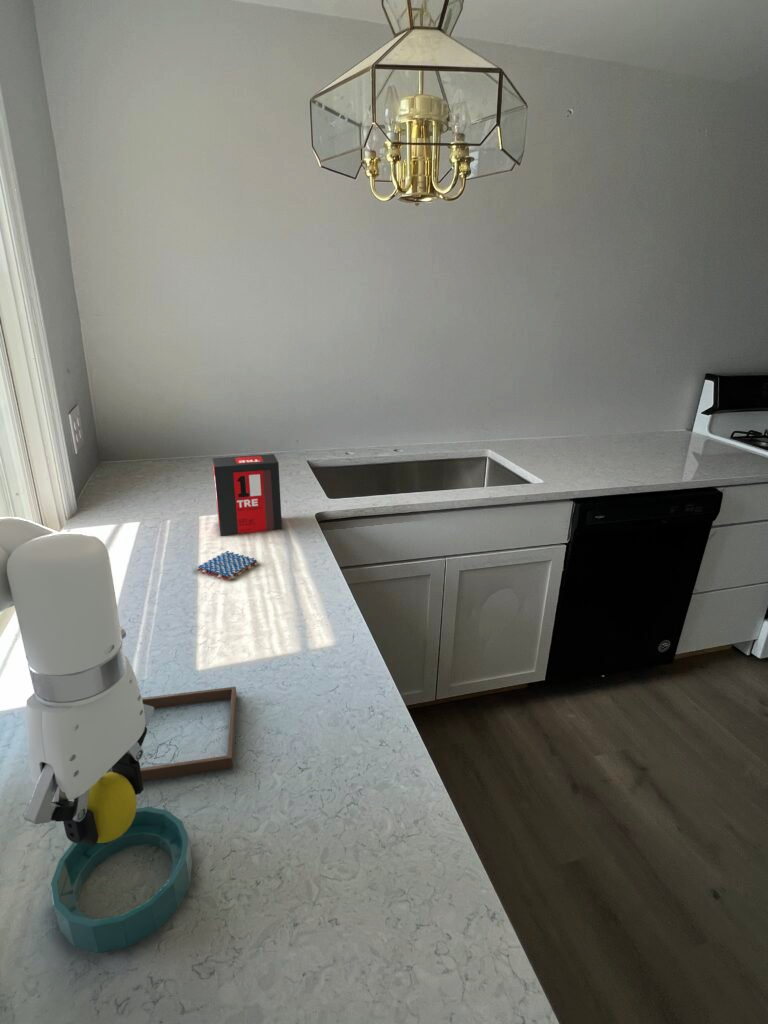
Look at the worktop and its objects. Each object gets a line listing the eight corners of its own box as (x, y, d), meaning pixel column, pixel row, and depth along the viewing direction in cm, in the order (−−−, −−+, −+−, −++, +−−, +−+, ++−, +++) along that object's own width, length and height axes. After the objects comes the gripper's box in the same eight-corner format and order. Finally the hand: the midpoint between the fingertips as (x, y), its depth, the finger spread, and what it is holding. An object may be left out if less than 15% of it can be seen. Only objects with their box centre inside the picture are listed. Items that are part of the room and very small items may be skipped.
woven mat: (194, 573, 130) (194, 566, 130) (226, 556, 139) (225, 549, 138) (229, 584, 126) (228, 576, 125) (259, 566, 135) (258, 558, 134)
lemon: (69, 849, 57) (56, 790, 54) (111, 806, 62) (101, 750, 59) (112, 868, 55) (100, 809, 52) (152, 822, 60) (143, 766, 57)
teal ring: (41, 969, 54) (31, 938, 52) (80, 845, 66) (73, 817, 64) (184, 939, 56) (179, 909, 55) (197, 826, 68) (193, 799, 67)
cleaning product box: (220, 538, 150) (213, 466, 143) (219, 526, 158) (212, 458, 151) (282, 531, 155) (278, 462, 148) (277, 520, 163) (273, 454, 156)
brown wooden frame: (97, 792, 73) (94, 777, 72) (123, 713, 87) (120, 700, 86) (233, 772, 76) (231, 757, 75) (237, 699, 90) (235, 686, 89)
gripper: (115, 612, 59) (136, 744, 66) (-45, 719, 44) (3, 878, 50) (175, 626, 57) (190, 761, 64) (29, 744, 42) (68, 906, 48)
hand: (107, 811), depth 57 cm, fingers closed on lemon, 5 cm apart
